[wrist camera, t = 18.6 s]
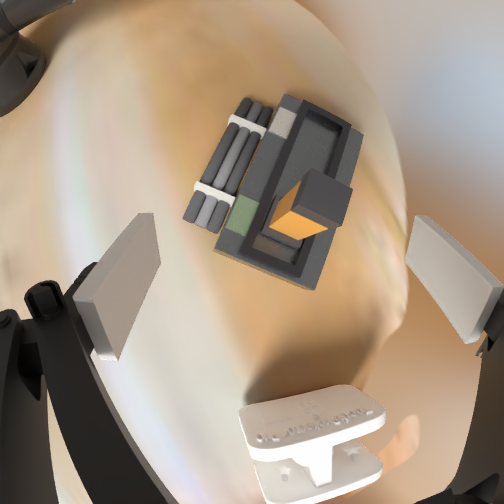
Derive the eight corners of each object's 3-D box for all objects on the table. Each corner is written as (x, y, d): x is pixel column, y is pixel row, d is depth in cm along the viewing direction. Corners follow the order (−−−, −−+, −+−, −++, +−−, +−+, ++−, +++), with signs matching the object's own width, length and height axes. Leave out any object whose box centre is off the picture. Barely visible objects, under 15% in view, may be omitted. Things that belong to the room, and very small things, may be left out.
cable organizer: (245, 463, 32) (262, 517, 21) (235, 400, 33) (251, 448, 22) (346, 437, 35) (388, 476, 24) (345, 376, 36) (395, 406, 24)
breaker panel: (305, 289, 36) (318, 290, 31) (213, 250, 34) (214, 247, 30) (353, 143, 39) (368, 131, 35) (278, 105, 37) (286, 88, 33)
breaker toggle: (296, 249, 32) (343, 234, 21) (259, 232, 32) (291, 209, 21) (309, 213, 33) (358, 184, 22) (274, 197, 32) (310, 159, 21)
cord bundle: (219, 234, 34) (220, 232, 32) (181, 218, 34) (180, 215, 32) (273, 115, 37) (276, 108, 35) (240, 101, 36) (242, 94, 34)
